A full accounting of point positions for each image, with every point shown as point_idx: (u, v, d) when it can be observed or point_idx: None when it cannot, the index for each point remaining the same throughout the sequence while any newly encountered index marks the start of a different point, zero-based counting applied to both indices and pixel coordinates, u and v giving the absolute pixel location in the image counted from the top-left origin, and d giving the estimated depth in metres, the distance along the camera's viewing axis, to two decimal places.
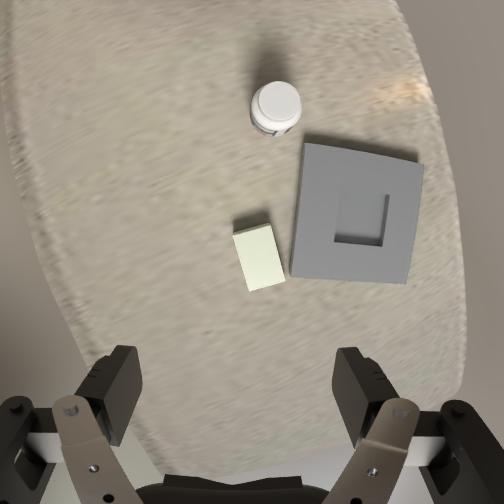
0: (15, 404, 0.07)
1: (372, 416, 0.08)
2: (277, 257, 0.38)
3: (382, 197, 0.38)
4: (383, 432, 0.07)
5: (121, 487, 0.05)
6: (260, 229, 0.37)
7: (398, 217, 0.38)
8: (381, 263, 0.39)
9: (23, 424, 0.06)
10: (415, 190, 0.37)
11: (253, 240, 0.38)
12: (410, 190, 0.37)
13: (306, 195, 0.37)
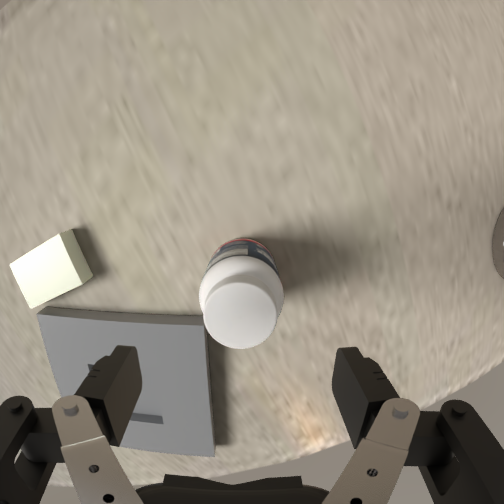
0: (15, 404, 0.07)
1: (372, 416, 0.08)
2: (50, 296, 0.24)
3: (160, 413, 0.28)
4: (383, 432, 0.07)
5: (121, 487, 0.05)
6: (74, 271, 0.23)
7: (141, 432, 0.28)
8: None
9: (23, 424, 0.06)
10: (179, 449, 0.28)
11: (59, 262, 0.23)
12: (177, 444, 0.28)
13: (131, 329, 0.25)
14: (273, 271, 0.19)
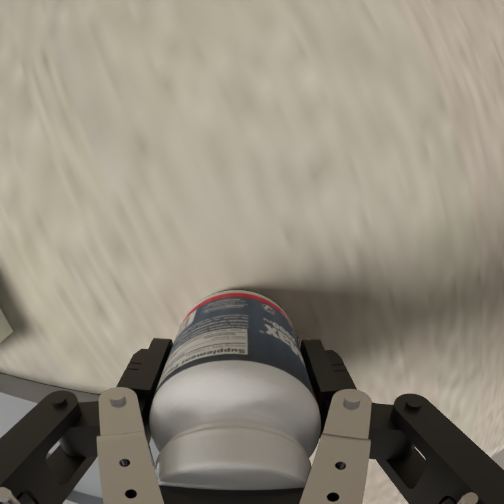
0: (58, 399, 0.07)
1: (325, 406, 0.09)
2: None
3: None
4: (329, 420, 0.08)
5: (147, 485, 0.05)
6: None
7: None
8: None
9: (69, 418, 0.07)
10: None
11: None
12: None
13: None
14: (304, 390, 0.08)
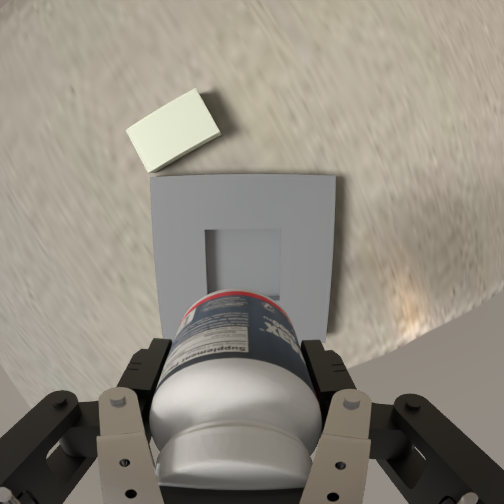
0: (58, 399, 0.07)
1: (325, 406, 0.09)
2: (177, 152, 0.26)
3: (273, 291, 0.31)
4: (329, 420, 0.08)
5: (147, 485, 0.05)
6: (211, 120, 0.25)
7: None
8: (185, 303, 0.29)
9: (70, 418, 0.07)
10: None
11: (194, 114, 0.25)
12: None
13: (265, 181, 0.27)
14: (305, 388, 0.08)
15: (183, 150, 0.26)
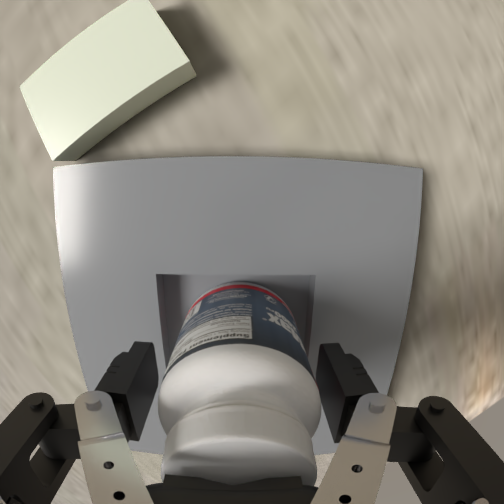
0: (35, 401, 0.07)
1: (349, 410, 0.09)
2: (104, 111, 0.11)
3: None
4: (357, 426, 0.07)
5: (133, 485, 0.05)
6: (171, 40, 0.10)
7: None
8: None
9: (45, 420, 0.07)
10: (315, 445, 0.16)
11: (138, 35, 0.10)
12: (315, 436, 0.16)
13: (285, 173, 0.12)
14: (305, 372, 0.09)
15: (115, 106, 0.11)
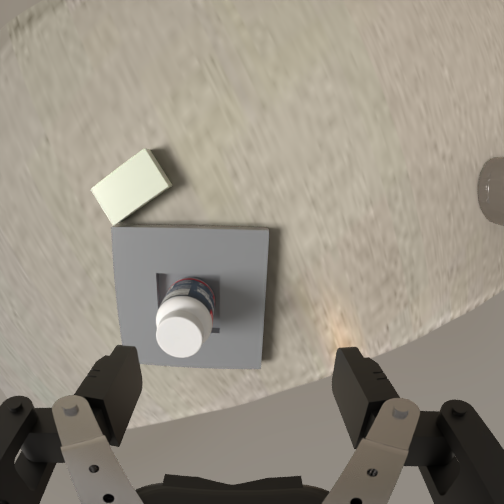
0: (15, 404, 0.07)
1: (372, 416, 0.08)
2: (135, 206, 0.30)
3: (215, 324, 0.35)
4: (383, 432, 0.07)
5: (121, 487, 0.05)
6: (160, 176, 0.30)
7: None
8: (141, 331, 0.34)
9: (23, 424, 0.06)
10: (229, 361, 0.35)
11: (146, 172, 0.29)
12: (228, 356, 0.35)
13: (206, 235, 0.32)
14: (204, 307, 0.28)
15: (139, 205, 0.30)
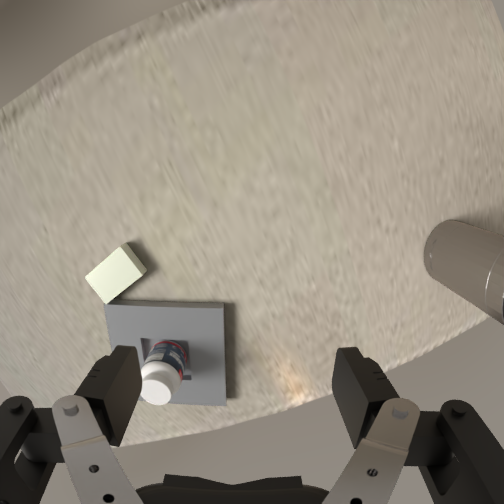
0: (15, 404, 0.07)
1: (372, 416, 0.08)
2: (120, 290, 0.38)
3: (189, 373, 0.43)
4: (383, 432, 0.07)
5: (121, 487, 0.05)
6: (135, 268, 0.38)
7: None
8: None
9: (23, 424, 0.06)
10: (201, 400, 0.43)
11: (124, 265, 0.38)
12: (200, 396, 0.43)
13: (175, 312, 0.40)
14: (173, 369, 0.36)
15: (123, 289, 0.38)
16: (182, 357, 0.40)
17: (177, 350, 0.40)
